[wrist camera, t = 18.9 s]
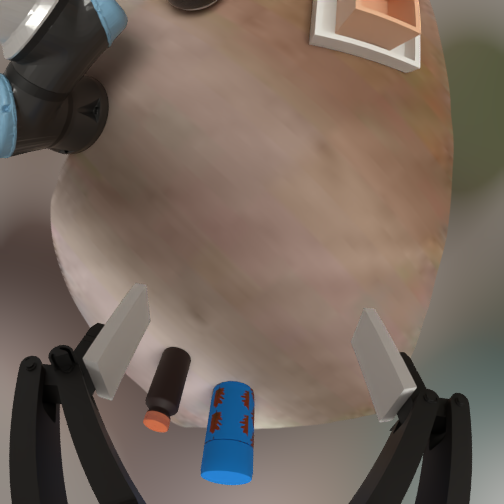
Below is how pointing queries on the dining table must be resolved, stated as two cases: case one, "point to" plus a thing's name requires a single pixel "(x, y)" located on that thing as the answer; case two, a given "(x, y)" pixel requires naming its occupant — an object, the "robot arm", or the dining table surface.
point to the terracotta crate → (378, 21)
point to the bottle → (166, 389)
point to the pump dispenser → (191, 4)
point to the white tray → (324, 36)
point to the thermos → (229, 435)
